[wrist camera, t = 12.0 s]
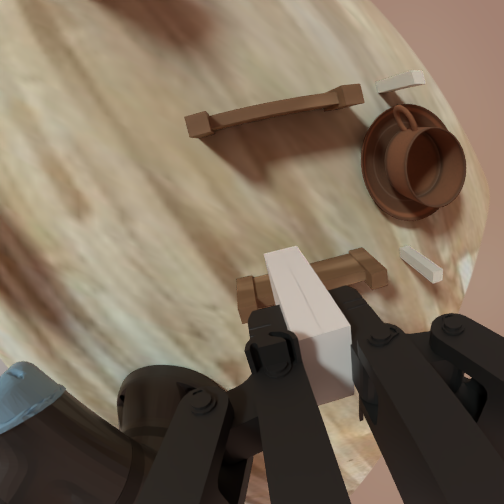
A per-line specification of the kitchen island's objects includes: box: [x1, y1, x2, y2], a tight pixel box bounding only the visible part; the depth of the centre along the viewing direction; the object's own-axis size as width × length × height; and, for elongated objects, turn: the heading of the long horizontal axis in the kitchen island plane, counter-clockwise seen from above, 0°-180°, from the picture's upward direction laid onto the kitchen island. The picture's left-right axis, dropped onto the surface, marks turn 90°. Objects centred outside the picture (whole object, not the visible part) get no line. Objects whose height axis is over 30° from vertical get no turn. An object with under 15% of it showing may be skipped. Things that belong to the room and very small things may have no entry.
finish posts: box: [376, 70, 443, 284], centre depth 26 cm, size 19×1×7 cm, turn 13°
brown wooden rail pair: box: [185, 84, 388, 324], centre depth 26 cm, size 18×14×6 cm
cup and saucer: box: [361, 104, 466, 221], centre depth 26 cm, size 12×12×6 cm
